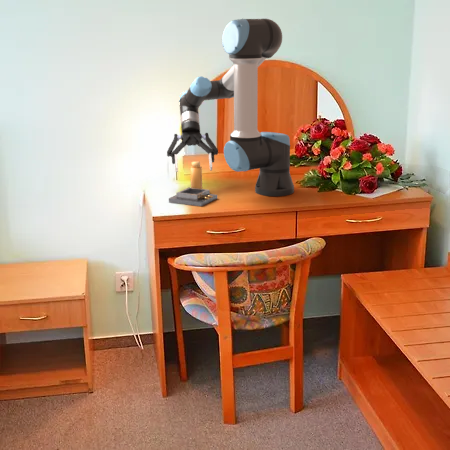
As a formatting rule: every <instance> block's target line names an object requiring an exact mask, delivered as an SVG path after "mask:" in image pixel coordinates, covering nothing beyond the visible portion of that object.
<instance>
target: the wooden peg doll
mask: <svg viewBox="0 0 450 450" xmlns="http://www.w3.org/2000/svg"><path fill="white" fill-rule="evenodd" d="M189 168H190V169H189V170H190V188H198V189H203V168H202V166H201V162H200V161H191V166H190V167H189Z"/></svg>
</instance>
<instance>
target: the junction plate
mask: <svg viewBox="0 0 450 450" xmlns="http://www.w3.org/2000/svg"><path fill="white" fill-rule="evenodd" d="M215 200H218V194H215V193H210V189H205V188H202V189H198V188H191V187H187V188H184V189H183V190H180V191H177V192H176V194H175V195H173V196H171V197H169V198H168V202H169V203H173V204H180V205H186V206H187V205H189V206H195V207H203V206H205V205H208V204H209V203H211V202H213V201H215Z"/></svg>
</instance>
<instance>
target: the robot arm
mask: <svg viewBox="0 0 450 450" xmlns="http://www.w3.org/2000/svg"><path fill="white" fill-rule="evenodd" d="M221 40H222V41H221V42H222V43H221V44H222V48H223V50H224V52H225V53H226V54H228V58H229V60H230V61H231V62H232V63H233V65H232V66H231V67H230V68H229V69H228V71H226V73H225V74H224V75H223V76H222V77H221V78H220V79H218V80H210V79H209V78H207V77H204V76H198V77H197V76H196V78H195V79H194V80H193V82H191V84H190V86H189V88H188V89H187V90H184V91H185V92H184V91H183V92H181V93H182V95H181V97H180V96H179V97H180V100H179V101H178V103H179V102H180V105H179V114H180V125H181V126H180V129H181V135H180V134H179V135H178V134H177V133H174V135H173V139H172V142H171V144H170V145H169V148H168V149H167V151H166V156H167V157H171V163H172V165H174V167H175V172H176V173H177V172H178V169H179V166H178V155H179V153H180V152H181V151H182V150H183V148H185V147H186V146H188V147H189V146H198V147H199V148H201V149H202V150H203V151H205V152H206V153H207V154H208V163H209V171H213V163H215V156H217V155H218V154H219V149H218V147H217V146H216V145H215V143H214V142H213V141H212V139H211V138H210V137H209V132H205V133H204V134H202V133H201V126H200V115H199V114H200V113H199V108H200V107H201V105H202V104H203V103H204V101H210V100H212V101H213V100H222V99H231V98H233V128H234V129H233V131H232V132H231V133H230V135H229V140H228V141H227V142H226V143H225V144H224V147H223V157H224V160H225V163H226V164H227V165H228V167H229V168H230V169H231V170H233V171H234V172H237V173H238V172H247V171H252V170H258V169H259V173H258V177H257V178H256V182H255V186H254V193H255V194H258V195H260V196H265V197H284V196H288V195H289V196H290V195H292V194H293V193H294V192H295V185H294V182H293V179H292V178H293V177H292V176H291V173H290V171H291V169H290V168H291V166H290V165H291V162H290V161H291V144H290V143H291V142H290V141H291V140H290V139H291V138H290V136H289V134H285V133H280V132H273V131H261V132H260V131H259V129H258V93H259V92H258V86H259V85H258V81H259V80H258V74H259V73H258V71H259V70H258V68H259V67H260V66H261V65H262V64H263V63H264V61H265V60H267V59H270V58H272V57H273V56H274V55H275V54H276V53H277V52H278V51H279V49H280V47H281V45H282V42H283V32H282V29H281V27H280V26H279V24H277V22H276V21H274V20H273V19H269V18H238V19H233V20H231V21H229V22H228V23H227V24H226V26H225V28H224V30H223V33H222V39H221ZM180 140H181V141H180ZM203 140H204V141H205V142H206V143H207V144H206V143H205V142H204V141H203ZM179 141H180V143H179V144H178V145H177V143H178V142H179ZM176 145H177V146H176Z"/></svg>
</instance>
